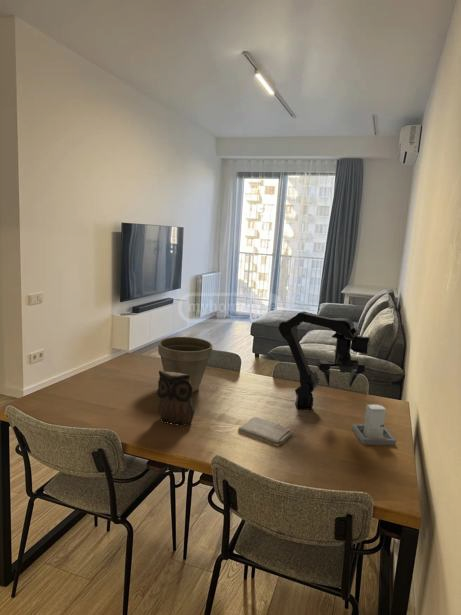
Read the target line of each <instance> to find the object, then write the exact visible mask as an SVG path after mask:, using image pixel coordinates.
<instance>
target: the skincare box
mask: <svg viewBox="0 0 461 615" xmlns="http://www.w3.org/2000/svg"><path fill="white" fill-rule="evenodd" d="M386 413H387V409H386V407H384V406H383V405H382V404H366V408H365V416H364V423H363V425H364V430H363V432H362V434H363V436H364V437H365V438H378V439H383V437H384V434H383V429H384V427H385V422H386Z"/></svg>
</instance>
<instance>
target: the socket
mask: <svg viewBox="0 0 461 615" xmlns="http://www.w3.org/2000/svg"><path fill="white" fill-rule="evenodd" d="M351 429H352V431H353V432H354V433H355V435H356V436H357V437H358V439H359V441H360V443H361V444H362V445H371V446H372V445H373V446H396V444H397V443H396V442H397V440H396V439H395V437H393V435H392V434H391V433H390V431H389V430H388V429H387V428H386V427H385V426H384V429H383V437H384V438H382V439H378V438H366V437H365V436H364V434H363V432H362V431H363V430H364V424H360V423H359V424H356V423H355V424H354V423H353V424H352V427H351Z"/></svg>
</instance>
